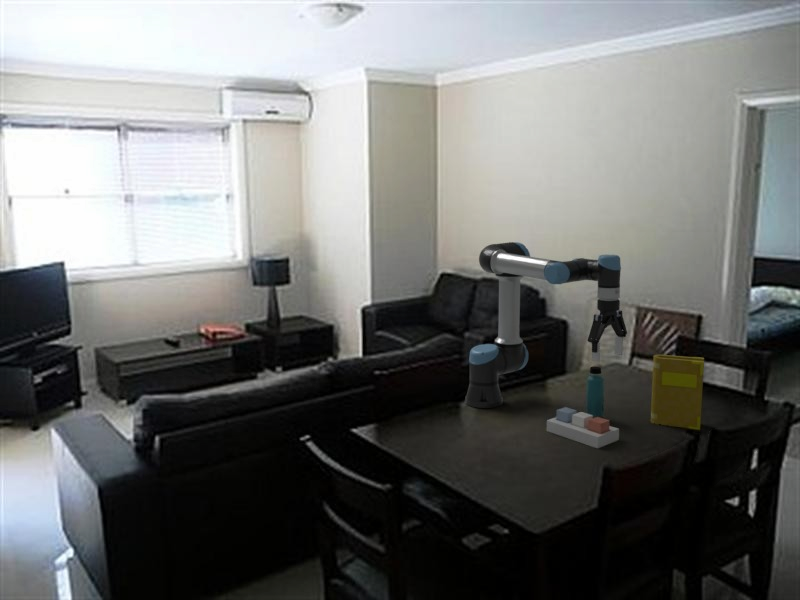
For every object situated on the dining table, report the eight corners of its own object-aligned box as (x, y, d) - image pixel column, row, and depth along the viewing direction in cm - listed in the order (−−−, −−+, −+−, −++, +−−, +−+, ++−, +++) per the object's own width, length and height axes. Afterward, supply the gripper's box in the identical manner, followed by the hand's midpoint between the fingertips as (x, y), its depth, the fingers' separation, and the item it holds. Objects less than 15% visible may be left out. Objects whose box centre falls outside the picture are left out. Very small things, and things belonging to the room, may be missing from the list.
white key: (571, 428, 244) (572, 414, 244) (580, 425, 247) (581, 411, 247) (583, 432, 240) (583, 418, 240) (592, 428, 244) (592, 415, 243)
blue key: (556, 423, 250) (556, 410, 249) (565, 420, 253) (565, 407, 252) (567, 426, 246) (567, 413, 245) (576, 423, 249) (576, 410, 248)
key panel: (546, 430, 249) (546, 420, 249) (567, 423, 257) (568, 413, 256) (597, 448, 232) (597, 437, 231) (618, 439, 239) (619, 428, 239)
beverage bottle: (604, 421, 258) (605, 369, 254) (585, 420, 259) (587, 369, 256) (602, 415, 264) (604, 365, 261) (584, 415, 265) (586, 364, 262)
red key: (588, 433, 239) (588, 419, 238) (597, 430, 242) (597, 416, 241) (600, 437, 235) (600, 423, 234) (609, 434, 238) (609, 420, 237)
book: (700, 423, 253) (704, 357, 249) (699, 429, 247) (703, 362, 243) (651, 418, 260) (654, 353, 256) (649, 423, 254) (652, 358, 250)
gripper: (596, 304, 232) (595, 366, 235) (638, 295, 247) (636, 353, 250) (577, 302, 237) (576, 362, 241) (619, 293, 253) (618, 350, 256)
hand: (607, 357), depth 246 cm, fingers open, 13 cm apart
